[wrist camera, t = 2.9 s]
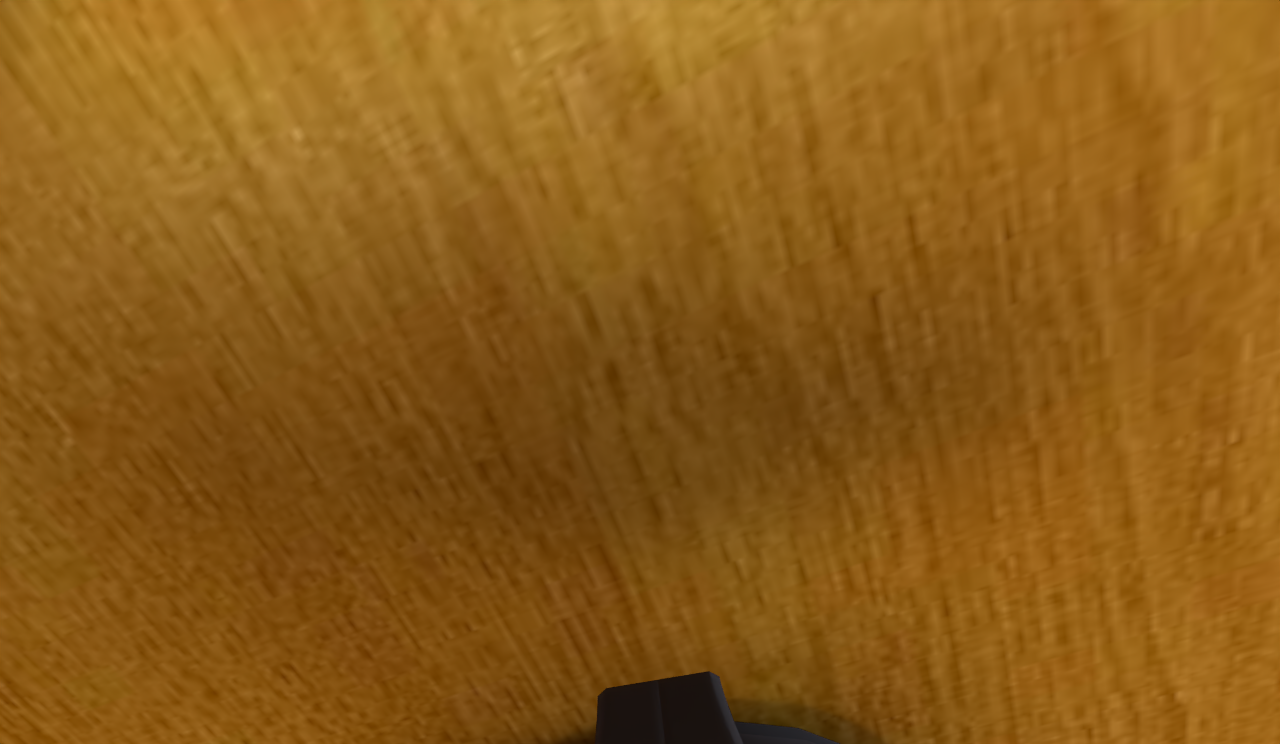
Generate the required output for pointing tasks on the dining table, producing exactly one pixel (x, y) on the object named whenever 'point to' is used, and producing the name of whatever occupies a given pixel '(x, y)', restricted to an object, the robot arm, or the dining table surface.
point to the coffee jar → (777, 735)
